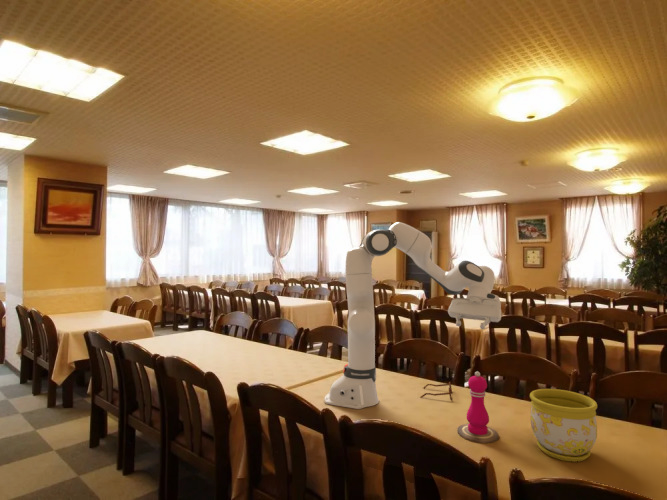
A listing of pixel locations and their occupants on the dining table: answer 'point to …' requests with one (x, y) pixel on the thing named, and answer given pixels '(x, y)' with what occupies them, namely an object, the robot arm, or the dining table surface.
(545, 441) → the flowerpot
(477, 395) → the pepper mill
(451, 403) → the dining table surface
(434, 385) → the glasses
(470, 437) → the coaster
